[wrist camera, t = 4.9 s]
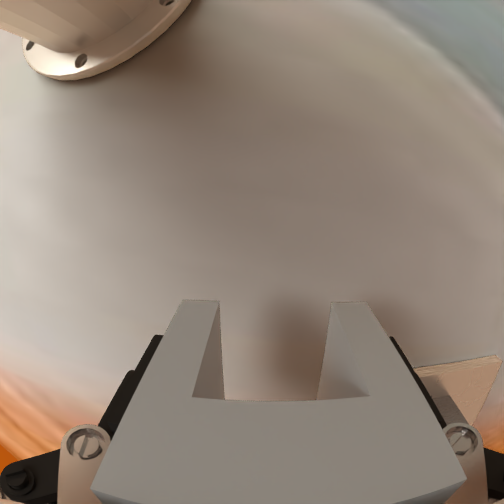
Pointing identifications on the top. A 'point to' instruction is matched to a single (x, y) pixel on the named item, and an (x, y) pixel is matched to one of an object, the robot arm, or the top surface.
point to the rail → (460, 386)
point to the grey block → (278, 427)
